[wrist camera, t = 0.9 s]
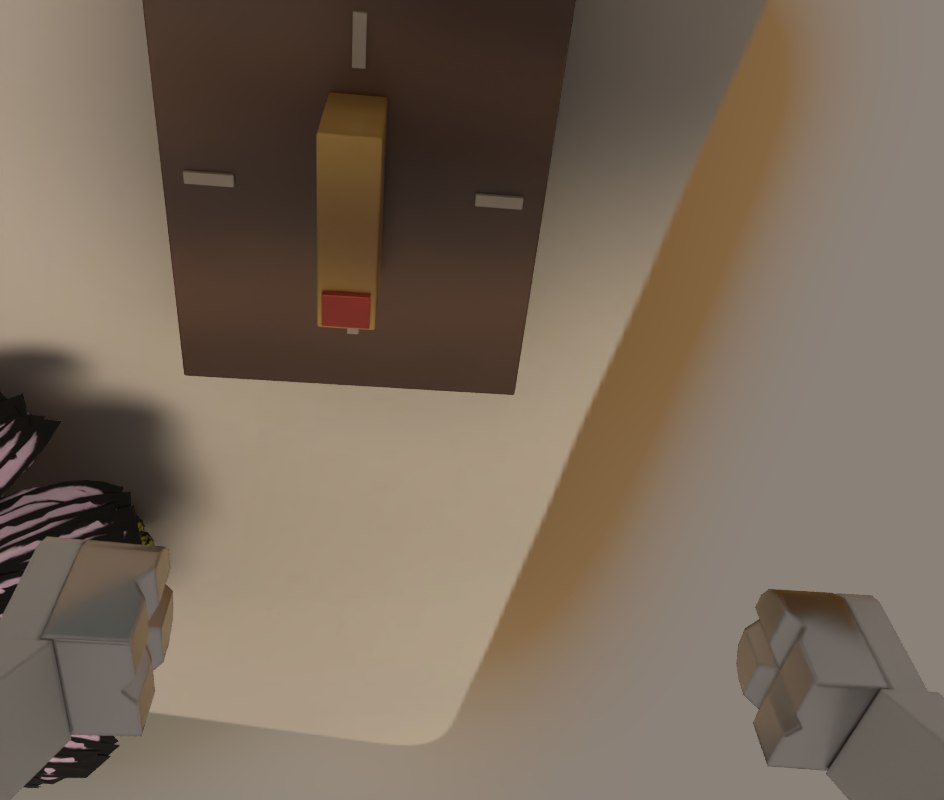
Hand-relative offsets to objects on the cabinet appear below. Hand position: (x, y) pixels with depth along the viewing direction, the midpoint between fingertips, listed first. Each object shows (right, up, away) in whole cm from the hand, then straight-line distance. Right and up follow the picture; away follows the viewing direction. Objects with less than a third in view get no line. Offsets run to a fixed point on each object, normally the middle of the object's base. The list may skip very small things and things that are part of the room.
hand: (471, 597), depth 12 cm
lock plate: (-3, +11, +16) cm, 19 cm away
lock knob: (-3, +9, +14) cm, 16 cm away
